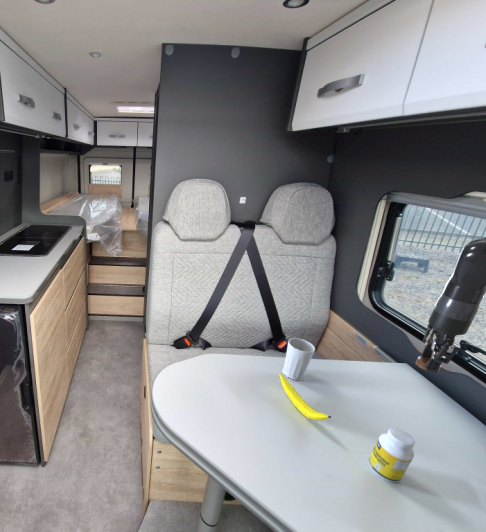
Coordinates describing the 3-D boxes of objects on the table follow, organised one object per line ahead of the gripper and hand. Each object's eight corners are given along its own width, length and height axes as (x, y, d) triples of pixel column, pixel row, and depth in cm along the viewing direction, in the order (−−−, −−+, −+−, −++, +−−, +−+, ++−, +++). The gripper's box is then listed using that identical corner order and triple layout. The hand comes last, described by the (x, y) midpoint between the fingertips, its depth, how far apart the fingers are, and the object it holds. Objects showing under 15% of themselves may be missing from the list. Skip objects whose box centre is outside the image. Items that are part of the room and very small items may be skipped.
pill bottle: (365, 453, 79) (381, 419, 75) (396, 465, 76) (414, 430, 72) (370, 475, 73) (388, 440, 69) (404, 489, 71) (424, 453, 67)
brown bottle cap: (435, 365, 89) (437, 360, 88) (441, 375, 84) (444, 369, 84) (413, 359, 91) (415, 354, 90) (418, 368, 87) (420, 363, 86)
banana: (280, 384, 101) (284, 368, 99) (328, 433, 84) (335, 416, 82) (272, 385, 100) (277, 369, 98) (319, 435, 83) (326, 417, 81)
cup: (282, 363, 111) (290, 335, 107) (306, 372, 107) (316, 344, 103) (277, 375, 105) (286, 345, 101) (303, 385, 101) (313, 355, 97)
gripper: (485, 329, 74) (455, 385, 80) (461, 306, 86) (436, 356, 92) (444, 320, 77) (418, 374, 83) (426, 299, 89) (404, 348, 95)
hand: (427, 365), depth 87 cm, fingers closed on brown bottle cap, 5 cm apart
